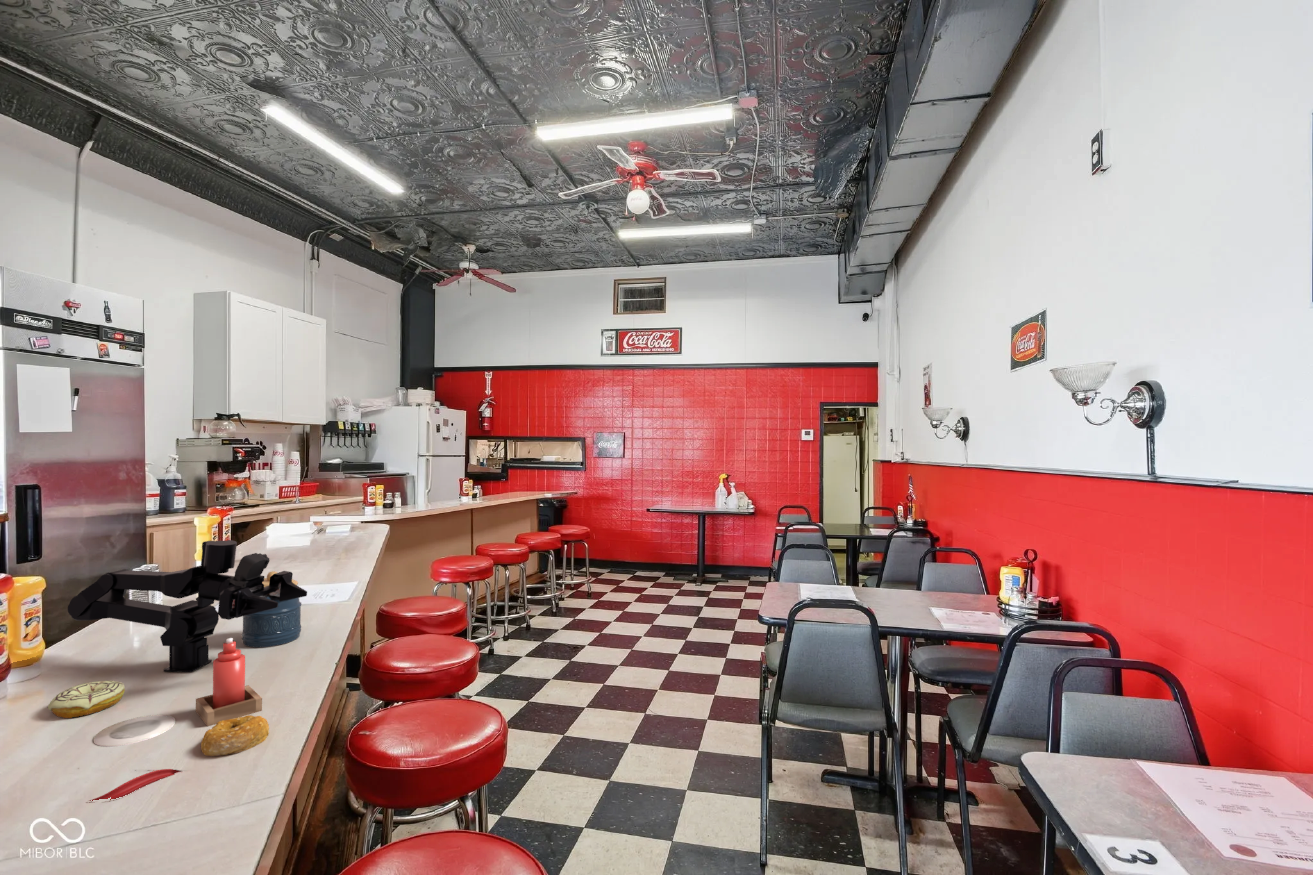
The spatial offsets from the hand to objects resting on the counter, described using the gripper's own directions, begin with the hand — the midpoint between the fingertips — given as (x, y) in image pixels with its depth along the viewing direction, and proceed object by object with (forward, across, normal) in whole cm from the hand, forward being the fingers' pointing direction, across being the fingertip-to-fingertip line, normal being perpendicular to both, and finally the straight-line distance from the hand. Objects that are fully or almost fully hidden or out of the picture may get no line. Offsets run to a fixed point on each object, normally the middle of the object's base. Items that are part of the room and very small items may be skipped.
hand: (292, 599), depth 136 cm
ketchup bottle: (+3, -19, +16) cm, 25 cm away
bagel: (+14, -29, +16) cm, 36 cm away
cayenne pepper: (+9, -43, +16) cm, 47 cm away
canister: (-18, +20, +19) cm, 33 cm away
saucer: (-7, -28, +17) cm, 34 cm away
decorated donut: (-25, -20, +20) cm, 38 cm away
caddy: (+4, -19, +16) cm, 26 cm away
